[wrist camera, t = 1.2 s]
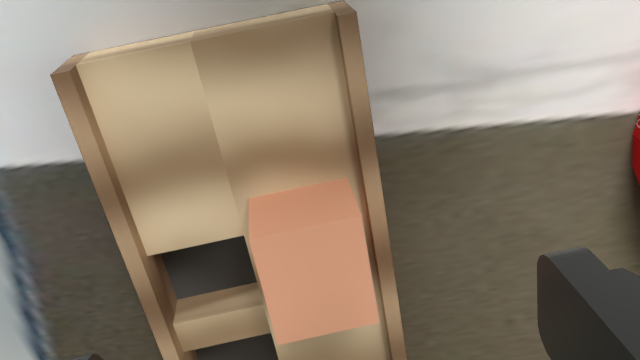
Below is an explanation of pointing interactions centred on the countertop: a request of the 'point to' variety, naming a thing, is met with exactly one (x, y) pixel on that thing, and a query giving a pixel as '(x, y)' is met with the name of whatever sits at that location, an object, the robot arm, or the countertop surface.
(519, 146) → the countertop surface
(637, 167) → the kitchen timer
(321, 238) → the terracotta block
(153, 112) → the trap track
